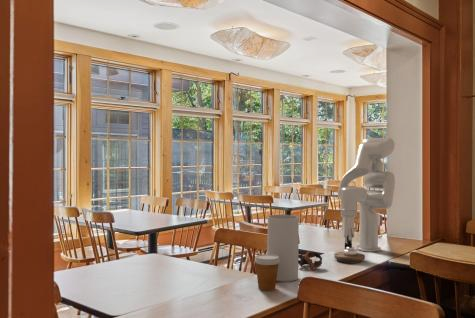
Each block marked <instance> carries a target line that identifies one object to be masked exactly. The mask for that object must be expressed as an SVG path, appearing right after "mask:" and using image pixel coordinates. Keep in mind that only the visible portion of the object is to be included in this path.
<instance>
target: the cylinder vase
mask: <svg viewBox="0 0 475 318" xmlns="http://www.w3.org/2000/svg"><path fill="white" fill-rule="evenodd" d="M299 220H300V218H299V216H298V215H292V214H271V215H268V216H267V241H266V242H267V247H266V248H267V253H266V254H272V255H277V256H278V257H279V260H280V261H279V264H278V272H277V279H276V283H277V282H278V283H290V281H291V282H294V280H295V281H296V280H298V279H299V264H298V260H299V258H298V254H299V241H300V240H299V239H300V236H299V234H300V233H299V232H300V231H299V229H300V227H299V224H300V223H299Z"/></svg>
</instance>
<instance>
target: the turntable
mask: <svg viewBox="0 0 475 318" xmlns="http://www.w3.org/2000/svg"><path fill="white" fill-rule="evenodd" d="M334 258H335V259H336V260H337V261H338V262H341V263H346V264H358V263H361V262H362V261H365V259H366V254H364V253H360V252H357V256H354V257H350V256H344V251H339V252H338V251H337V252H335V253H334Z"/></svg>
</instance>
